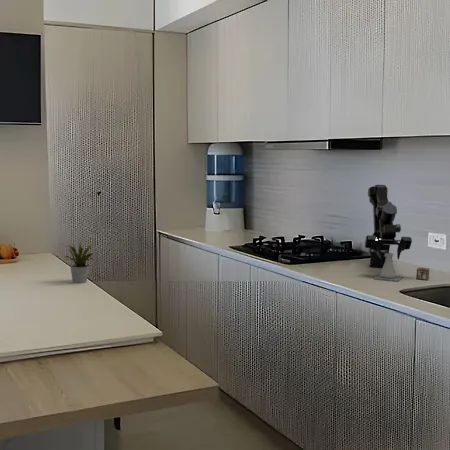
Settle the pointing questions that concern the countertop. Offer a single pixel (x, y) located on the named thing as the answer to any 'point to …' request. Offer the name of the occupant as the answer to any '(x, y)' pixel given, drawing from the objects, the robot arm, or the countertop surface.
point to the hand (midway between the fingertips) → (389, 258)
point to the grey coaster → (388, 278)
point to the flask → (388, 267)
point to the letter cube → (422, 274)
